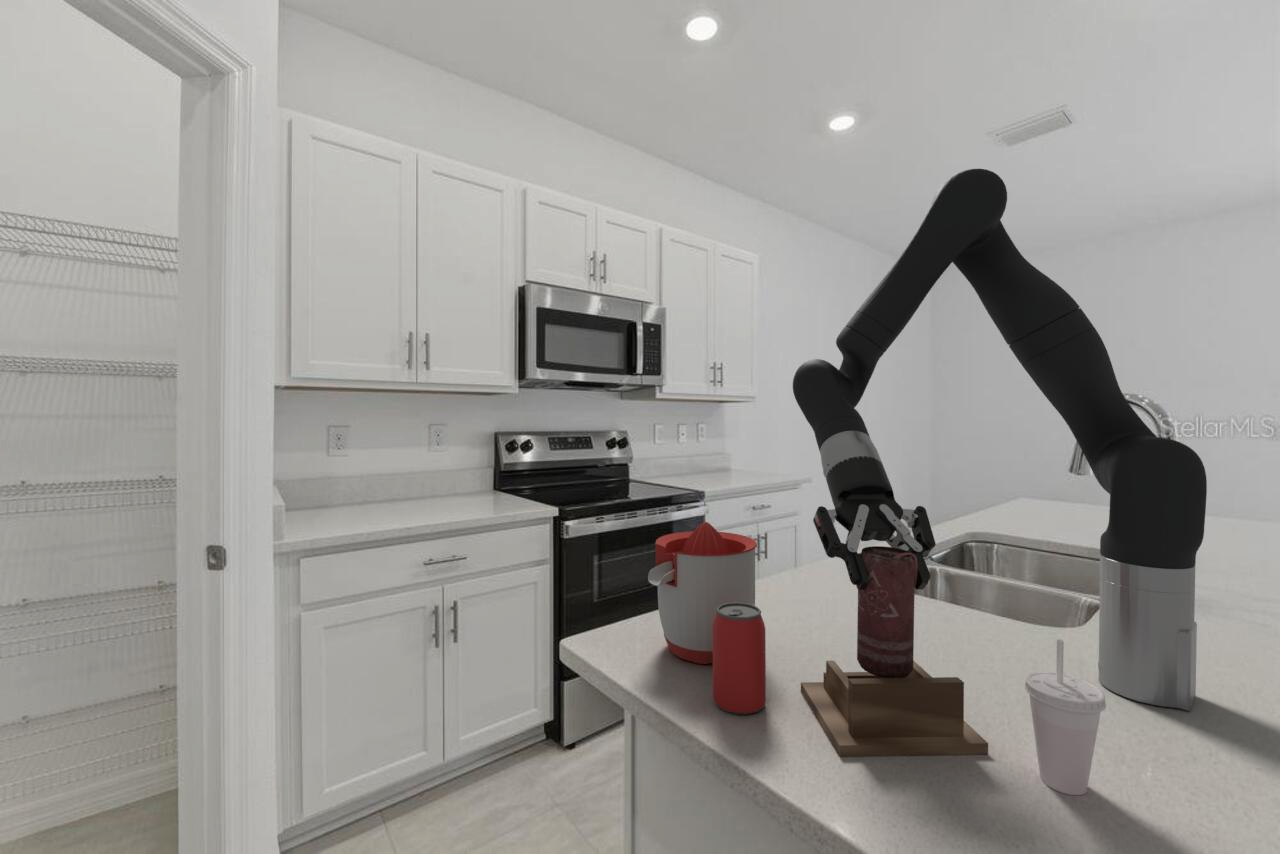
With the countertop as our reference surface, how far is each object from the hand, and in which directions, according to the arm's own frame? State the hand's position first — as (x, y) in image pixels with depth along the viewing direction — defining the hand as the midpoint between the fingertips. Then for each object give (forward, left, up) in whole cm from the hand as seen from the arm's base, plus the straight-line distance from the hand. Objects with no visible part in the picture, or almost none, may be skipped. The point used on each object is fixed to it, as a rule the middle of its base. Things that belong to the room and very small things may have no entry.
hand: (893, 586), depth 65 cm
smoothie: (-15, -3, -17) cm, 23 cm away
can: (+1, -1, -11) cm, 11 cm away
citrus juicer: (+30, +1, -17) cm, 34 cm away
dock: (+2, -1, -17) cm, 17 cm away
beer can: (+16, +9, -17) cm, 25 cm away
